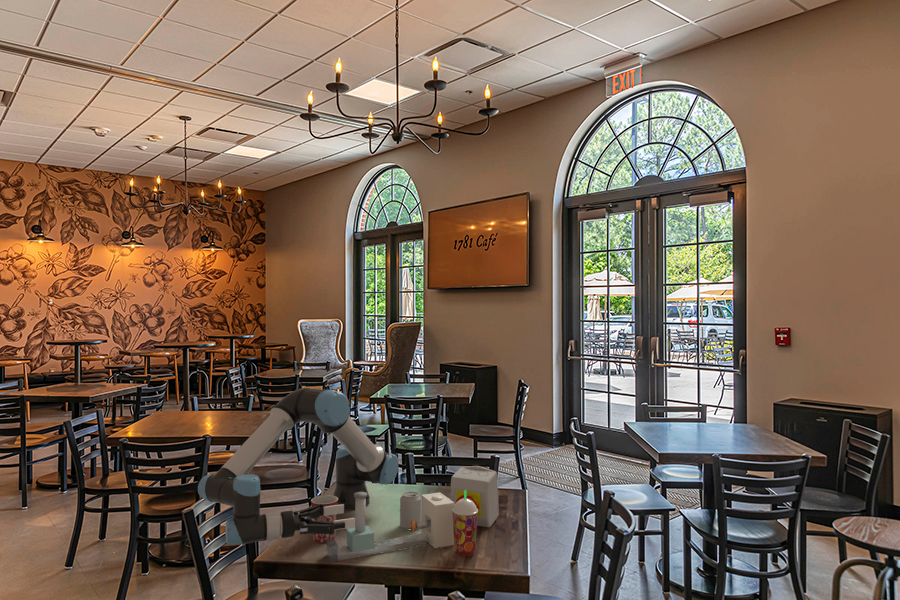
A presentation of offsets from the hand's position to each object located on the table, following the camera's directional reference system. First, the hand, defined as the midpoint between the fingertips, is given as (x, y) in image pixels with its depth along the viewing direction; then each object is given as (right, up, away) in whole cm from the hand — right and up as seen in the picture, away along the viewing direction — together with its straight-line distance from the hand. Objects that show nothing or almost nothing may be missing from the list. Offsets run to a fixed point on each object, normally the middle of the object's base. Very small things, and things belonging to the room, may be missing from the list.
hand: (349, 515), depth 189 cm
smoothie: (+37, -13, +3) cm, 39 cm away
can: (+18, -13, +25) cm, 34 cm away
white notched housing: (+28, -13, +13) cm, 33 cm away
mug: (-11, -13, +15) cm, 23 cm away
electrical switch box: (+40, -14, +29) cm, 51 cm away
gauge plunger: (+23, -9, +11) cm, 27 cm away
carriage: (+3, -11, +2) cm, 11 cm away
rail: (+9, -13, +4) cm, 16 cm away
